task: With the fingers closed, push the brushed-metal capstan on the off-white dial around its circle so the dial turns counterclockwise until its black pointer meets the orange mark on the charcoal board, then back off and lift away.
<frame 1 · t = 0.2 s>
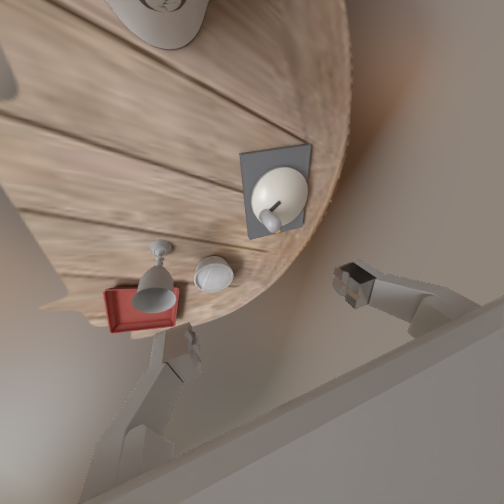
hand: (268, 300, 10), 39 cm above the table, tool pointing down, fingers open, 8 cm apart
dial board: (274, 194, 49), on the table
chalice: (161, 247, 47), on the table
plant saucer: (145, 302, 56), on the table
ramekin: (211, 266, 56), on the table
dial: (285, 203, 44), point 6 cm above the table, hinge at -55.0°
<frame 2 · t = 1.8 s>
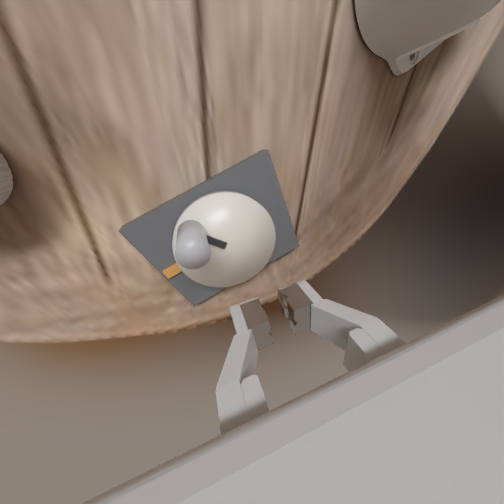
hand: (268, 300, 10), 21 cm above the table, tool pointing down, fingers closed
dial board: (223, 234, 30), on the table
dial: (231, 253, 25), point 6 cm above the table, hinge at -55.0°
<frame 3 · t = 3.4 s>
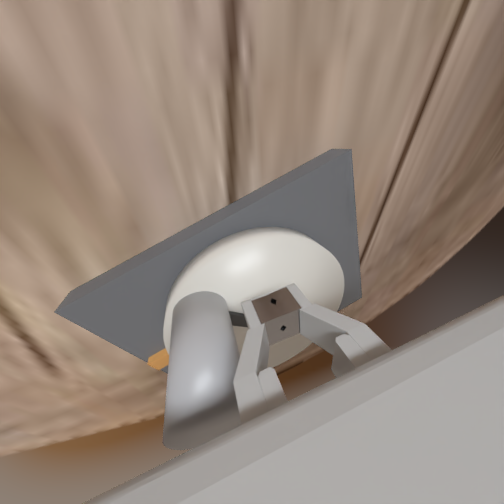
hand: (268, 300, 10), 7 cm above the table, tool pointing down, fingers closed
dial board: (249, 288, 18), on the table
dial: (275, 344, 13), point 6 cm above the table, hinge at -55.0°, touching gripper
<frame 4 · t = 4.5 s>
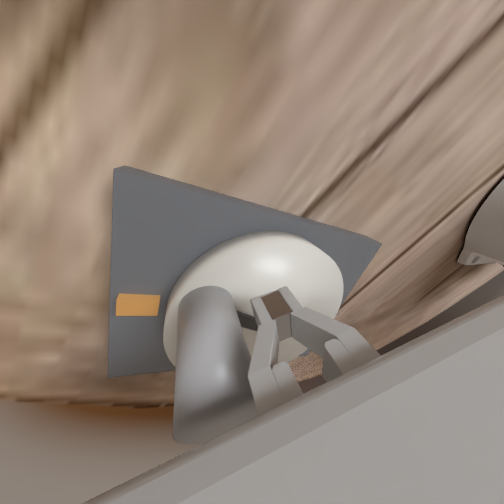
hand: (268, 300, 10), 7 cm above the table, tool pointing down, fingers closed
dial board: (249, 291, 18), on the table
dial: (274, 348, 13), point 6 cm above the table, hinge at -20.1°, touching gripper
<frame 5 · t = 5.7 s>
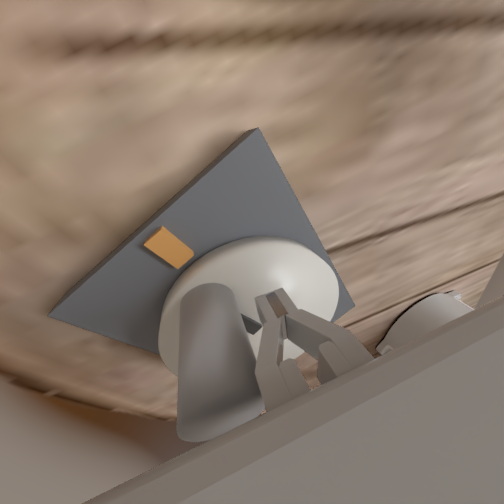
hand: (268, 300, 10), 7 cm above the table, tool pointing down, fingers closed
dial board: (245, 294, 18), on the table
dial: (270, 352, 13), point 6 cm above the table, hinge at 6.4°, touching gripper
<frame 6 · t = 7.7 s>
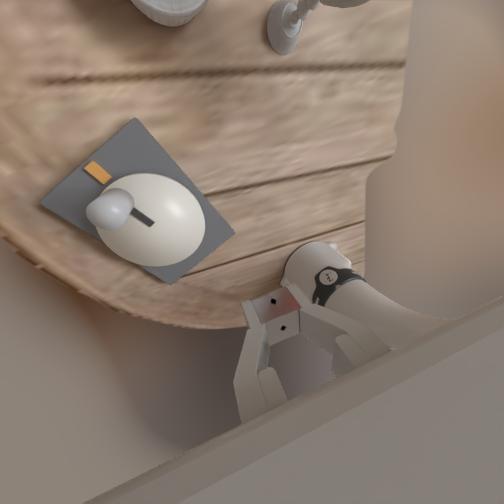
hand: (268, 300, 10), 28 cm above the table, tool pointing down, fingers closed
dial board: (157, 216, 32), on the table
chalice: (283, 29, 25), on the table
dial: (154, 231, 27), point 6 cm above the table, hinge at 4.9°
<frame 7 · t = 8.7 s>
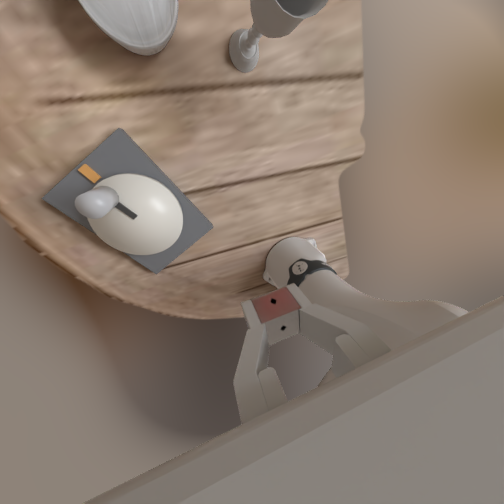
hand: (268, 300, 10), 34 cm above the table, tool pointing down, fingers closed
dial board: (143, 212, 36), on the table
chalice: (243, 52, 30), on the table
ramekin: (134, 8, 25), on the table
dial: (136, 222, 31), point 6 cm above the table, hinge at 4.9°
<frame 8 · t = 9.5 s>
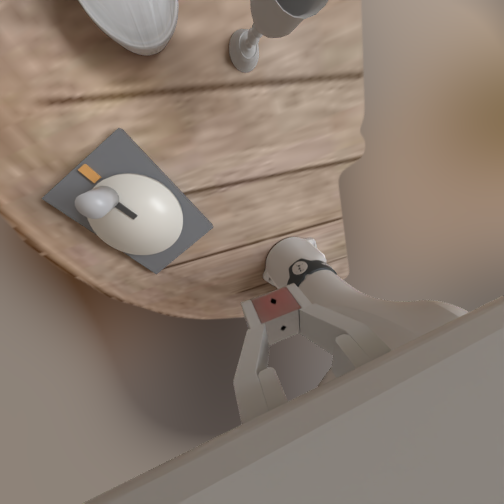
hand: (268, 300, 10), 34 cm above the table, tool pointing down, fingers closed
dial board: (143, 212, 36), on the table
chalice: (243, 52, 30), on the table
ramekin: (134, 8, 25), on the table
dial: (136, 222, 31), point 6 cm above the table, hinge at 4.9°
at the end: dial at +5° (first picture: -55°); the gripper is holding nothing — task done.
